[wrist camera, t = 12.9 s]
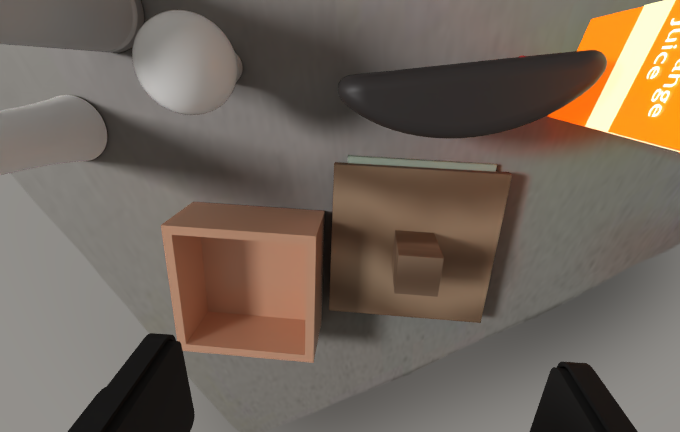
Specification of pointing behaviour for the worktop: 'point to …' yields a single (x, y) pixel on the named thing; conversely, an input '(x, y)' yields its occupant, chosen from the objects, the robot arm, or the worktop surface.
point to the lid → (414, 240)
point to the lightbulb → (185, 62)
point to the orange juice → (634, 76)
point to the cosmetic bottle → (50, 134)
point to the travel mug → (71, 24)
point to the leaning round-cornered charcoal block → (472, 93)
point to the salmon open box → (246, 279)
